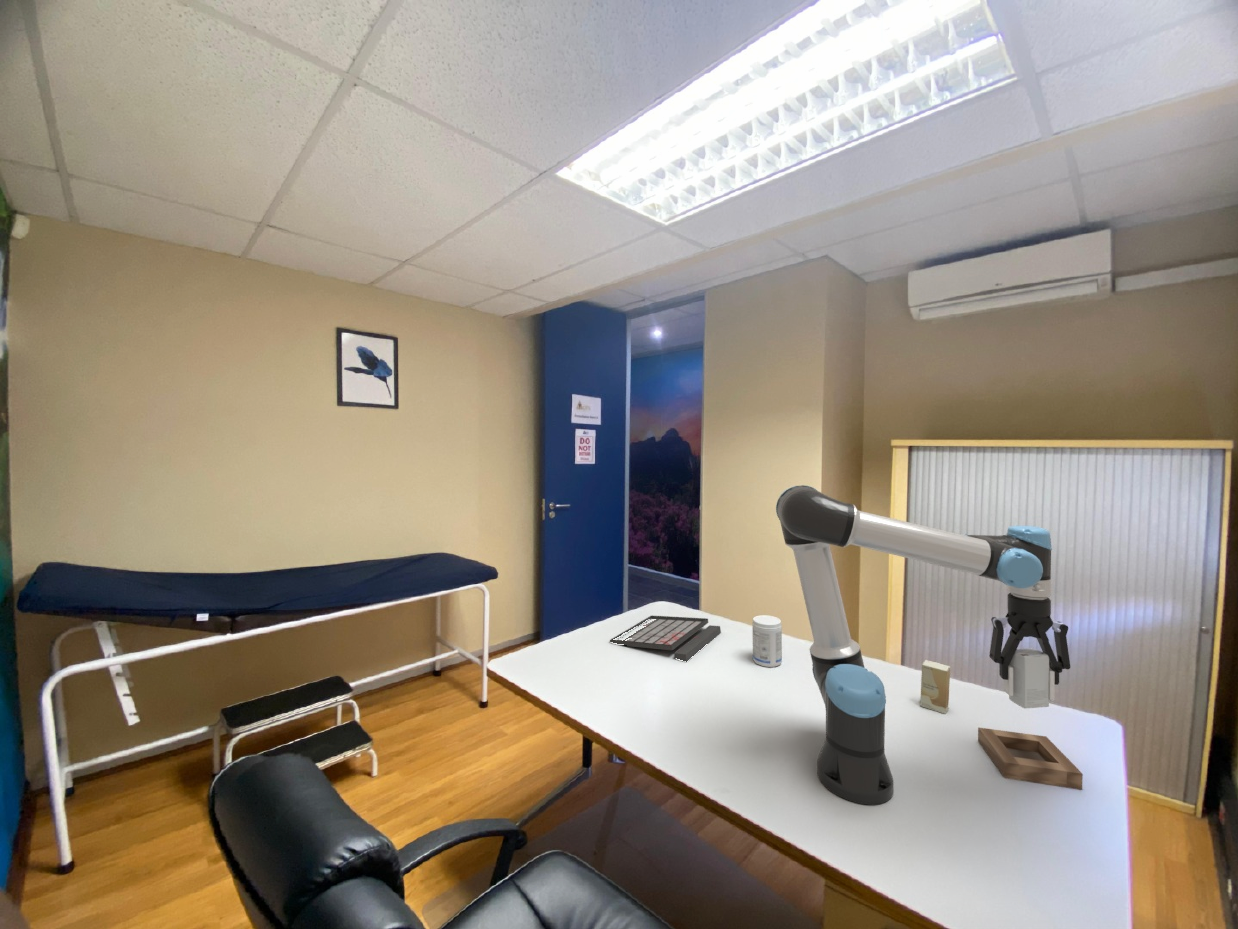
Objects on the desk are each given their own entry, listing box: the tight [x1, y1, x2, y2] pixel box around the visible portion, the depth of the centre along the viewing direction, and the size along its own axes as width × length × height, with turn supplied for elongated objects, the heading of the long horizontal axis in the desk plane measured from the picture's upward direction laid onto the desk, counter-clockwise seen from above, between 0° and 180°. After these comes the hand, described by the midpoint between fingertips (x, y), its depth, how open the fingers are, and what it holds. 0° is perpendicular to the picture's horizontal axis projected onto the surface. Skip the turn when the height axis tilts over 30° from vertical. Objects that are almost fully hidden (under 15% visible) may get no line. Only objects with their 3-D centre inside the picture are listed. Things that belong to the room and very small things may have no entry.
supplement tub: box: [752, 614, 783, 668], centre depth 167 cm, size 10×10×15 cm
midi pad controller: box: [609, 615, 722, 663], centre depth 190 cm, size 32×7×31 cm
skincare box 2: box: [1008, 647, 1050, 709], centre depth 111 cm, size 6×4×12 cm
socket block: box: [977, 727, 1084, 791], centre depth 113 cm, size 14×14×4 cm
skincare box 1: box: [919, 659, 951, 714], centre depth 137 cm, size 6×4×12 cm
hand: (1028, 695), depth 111 cm, fingers closed on skincare box 2, 7 cm apart
